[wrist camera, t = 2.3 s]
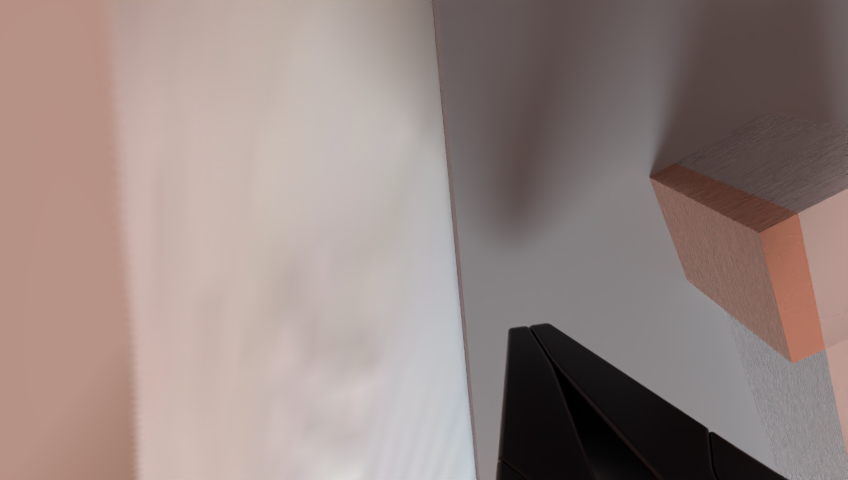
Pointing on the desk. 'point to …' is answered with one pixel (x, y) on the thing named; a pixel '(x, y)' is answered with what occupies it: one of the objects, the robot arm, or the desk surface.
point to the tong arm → (775, 274)
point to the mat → (611, 177)
